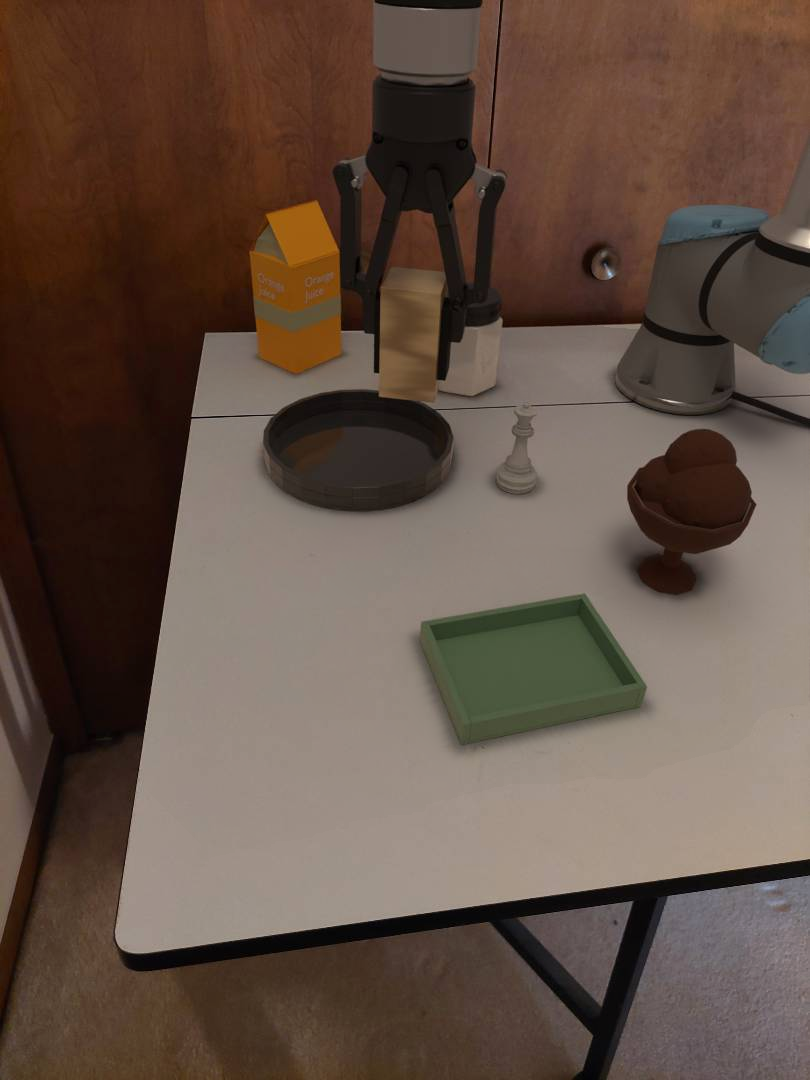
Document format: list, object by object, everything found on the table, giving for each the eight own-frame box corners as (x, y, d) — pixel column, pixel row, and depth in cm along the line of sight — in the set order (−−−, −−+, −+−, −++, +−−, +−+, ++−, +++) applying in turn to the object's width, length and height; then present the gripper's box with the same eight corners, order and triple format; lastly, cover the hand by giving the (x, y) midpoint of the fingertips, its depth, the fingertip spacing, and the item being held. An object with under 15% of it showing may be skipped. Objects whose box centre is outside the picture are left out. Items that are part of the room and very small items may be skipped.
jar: (462, 403, 102) (469, 313, 95) (417, 380, 107) (421, 293, 99) (507, 382, 107) (518, 295, 100) (463, 361, 112) (470, 276, 104)
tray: (580, 612, 72) (585, 593, 71) (641, 706, 64) (647, 686, 63) (419, 641, 69) (420, 621, 67) (461, 745, 61) (463, 724, 59)
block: (441, 377, 75) (448, 271, 69) (434, 403, 71) (441, 293, 65) (389, 372, 75) (391, 266, 69) (378, 396, 72) (380, 287, 65)
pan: (459, 420, 99) (461, 398, 97) (440, 521, 82) (442, 498, 81) (292, 403, 101) (291, 381, 99) (240, 499, 85) (238, 475, 83)
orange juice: (342, 354, 112) (339, 206, 100) (295, 374, 107) (286, 220, 95) (304, 337, 116) (296, 192, 104) (257, 356, 111) (243, 206, 99)
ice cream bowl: (586, 555, 79) (616, 422, 70) (677, 530, 83) (717, 401, 73) (653, 626, 71) (696, 487, 62) (750, 595, 75) (804, 460, 66)
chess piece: (509, 498, 86) (521, 416, 80) (488, 477, 89) (497, 397, 83) (543, 488, 88) (556, 407, 82) (520, 468, 91) (532, 389, 85)
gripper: (551, 75, 60) (514, 362, 74) (316, 59, 62) (324, 342, 76) (548, 92, 54) (508, 400, 68) (288, 74, 56) (303, 377, 70)
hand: (411, 369), depth 72 cm, fingers closed on block, 5 cm apart
